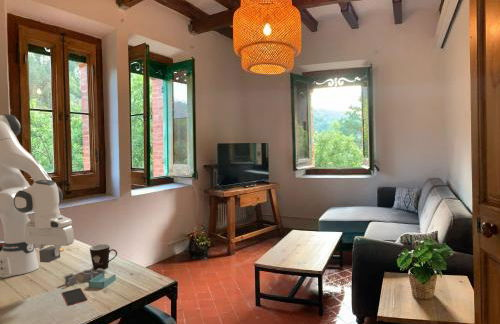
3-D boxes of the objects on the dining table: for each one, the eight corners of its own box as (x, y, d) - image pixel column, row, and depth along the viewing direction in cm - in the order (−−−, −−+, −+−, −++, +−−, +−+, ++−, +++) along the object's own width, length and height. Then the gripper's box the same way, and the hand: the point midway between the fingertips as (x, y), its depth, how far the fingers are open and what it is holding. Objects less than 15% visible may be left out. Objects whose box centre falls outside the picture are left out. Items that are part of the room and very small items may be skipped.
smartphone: (67, 305, 126) (61, 292, 137) (67, 307, 126) (61, 293, 137) (88, 299, 130) (80, 287, 141) (88, 301, 130) (80, 288, 141)
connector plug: (40, 262, 137) (39, 250, 137) (59, 253, 147) (58, 243, 146) (48, 262, 136) (47, 251, 136) (67, 254, 146) (66, 243, 145)
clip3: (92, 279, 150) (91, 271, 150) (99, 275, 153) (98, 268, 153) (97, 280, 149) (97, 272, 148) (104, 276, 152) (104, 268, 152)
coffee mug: (86, 269, 161) (85, 248, 161) (102, 263, 169) (101, 243, 168) (104, 273, 156) (102, 251, 155) (119, 267, 163) (118, 246, 163)
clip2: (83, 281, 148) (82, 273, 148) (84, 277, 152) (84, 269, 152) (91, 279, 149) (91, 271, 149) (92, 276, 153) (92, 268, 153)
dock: (88, 287, 142) (88, 281, 142) (101, 279, 150) (101, 273, 150) (103, 288, 140) (103, 282, 140) (115, 280, 148) (115, 274, 148)
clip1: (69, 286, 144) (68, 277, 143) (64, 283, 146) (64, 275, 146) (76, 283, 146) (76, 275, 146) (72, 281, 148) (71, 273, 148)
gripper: (19, 222, 138) (21, 256, 139) (63, 223, 133) (66, 259, 134) (32, 218, 144) (34, 251, 145) (75, 219, 139) (77, 253, 140)
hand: (50, 255), depth 139 cm, fingers closed on connector plug, 4 cm apart
